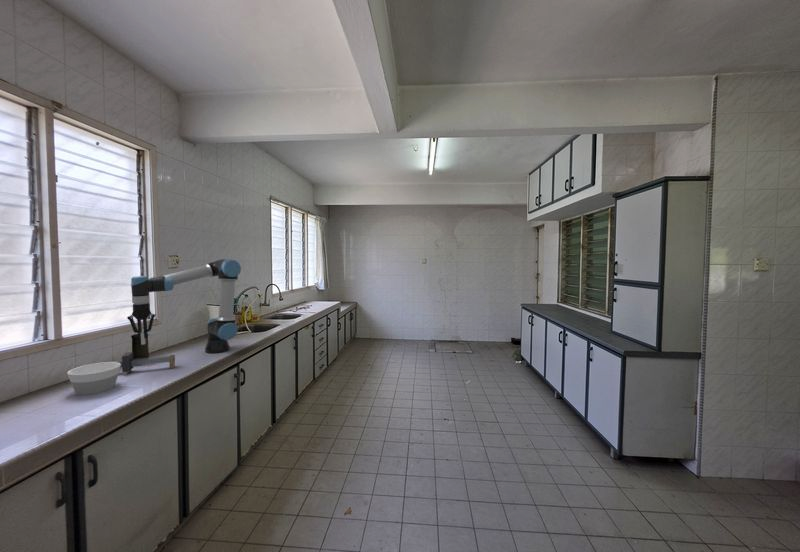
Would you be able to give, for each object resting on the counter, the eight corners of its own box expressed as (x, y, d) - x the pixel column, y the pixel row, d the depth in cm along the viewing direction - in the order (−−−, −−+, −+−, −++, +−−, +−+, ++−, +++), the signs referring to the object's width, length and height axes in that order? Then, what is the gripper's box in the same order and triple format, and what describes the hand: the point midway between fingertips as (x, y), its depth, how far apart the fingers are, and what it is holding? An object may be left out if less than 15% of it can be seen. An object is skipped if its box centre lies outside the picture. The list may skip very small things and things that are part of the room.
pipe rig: (175, 365, 196) (175, 353, 196) (173, 369, 188) (172, 357, 188) (111, 372, 182) (111, 359, 182) (106, 377, 174) (105, 364, 174)
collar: (133, 367, 186) (132, 352, 186) (129, 371, 179) (128, 355, 179) (126, 368, 185) (126, 352, 184) (122, 372, 178) (121, 356, 177)
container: (153, 361, 202) (153, 333, 201) (140, 366, 193) (140, 336, 192) (140, 361, 203) (139, 332, 202) (127, 365, 194) (126, 336, 193)
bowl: (128, 386, 162) (127, 365, 162) (75, 401, 146) (75, 377, 145) (112, 379, 172) (112, 359, 172) (62, 391, 156) (61, 369, 155)
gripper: (156, 301, 190) (158, 341, 191) (128, 303, 184) (131, 343, 185) (153, 303, 183) (156, 344, 184) (124, 305, 177) (127, 347, 179)
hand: (143, 343), depth 185 cm, fingers closed
